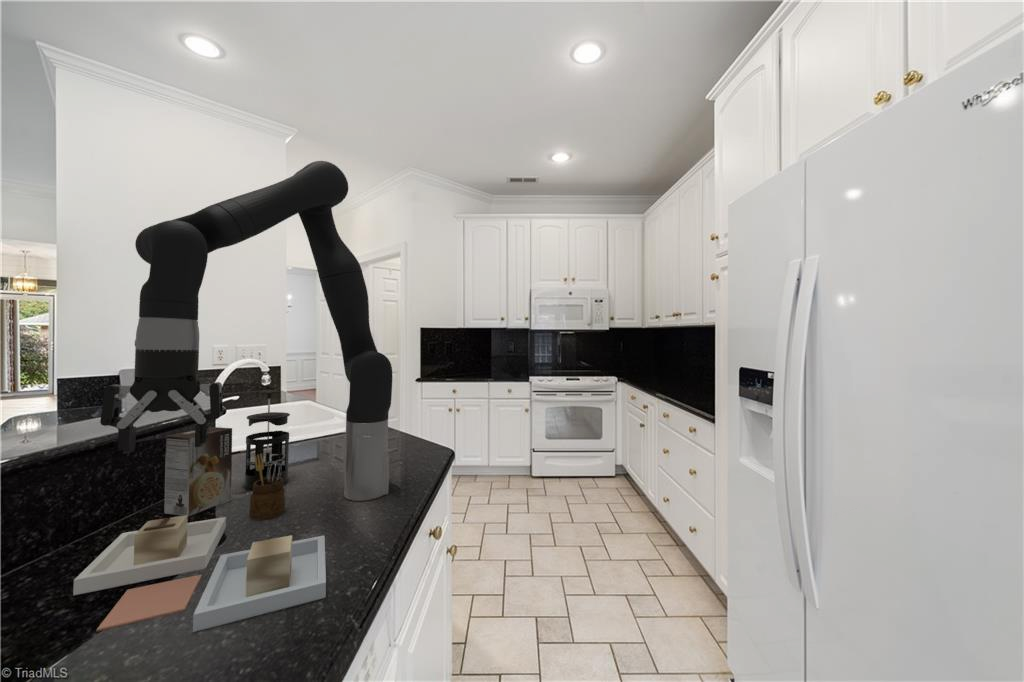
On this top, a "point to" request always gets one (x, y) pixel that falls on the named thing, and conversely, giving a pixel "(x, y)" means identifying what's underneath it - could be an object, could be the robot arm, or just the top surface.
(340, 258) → the robot arm
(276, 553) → the plain cube
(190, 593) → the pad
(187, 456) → the coffee box
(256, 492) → the utensil holder
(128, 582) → the white tray
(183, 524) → the letter cube
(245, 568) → the blue tray
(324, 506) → the top surface
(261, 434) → the french press
